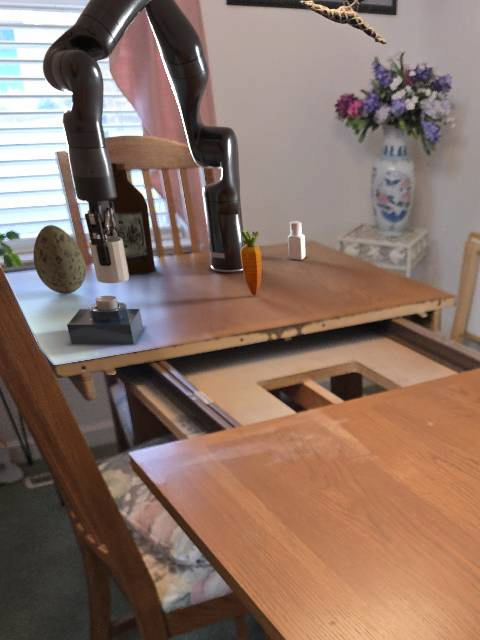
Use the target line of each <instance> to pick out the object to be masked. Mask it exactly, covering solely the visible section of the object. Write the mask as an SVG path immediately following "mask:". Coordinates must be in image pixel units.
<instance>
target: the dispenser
mask: <svg viewBox="0 0 480 640" xmlns="http://www.w3.org/2000/svg"><path fill="white" fill-rule="evenodd" d="M117 303H118V308H116V309H113V310H98V309H97V306H96V303H94V304H91V305H90V306H88V308H80V309H78V311H77V312H76V313H75V315H73V317H72V318H71V319H70V320H69V321H68V323H67V324H66V327H67V331H68V335H69V340H70V343H71V345H135V343H136V341H137V340H138V337H139V335H140V334H141V332H142V331H143V329H144V325H143V319H142V315H141V308H127V305H126V304H125V303H124V302H121V301H117Z"/></svg>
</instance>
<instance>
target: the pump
mask: <svg viewBox="0 0 480 640" xmlns="http://www.w3.org/2000/svg"><path fill="white" fill-rule="evenodd" d="M117 298H118V297H117V296H114V295H101V296H97V297H96V298H94V299H95V304H96V306H97V309H98V310H113V309H116V308H118V303H117V302H118V299H117Z"/></svg>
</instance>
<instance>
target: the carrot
mask: <svg viewBox="0 0 480 640" xmlns="http://www.w3.org/2000/svg"><path fill="white" fill-rule="evenodd" d="M241 233H242V235H243V237H244V240H242V241H243V242H244V243H245V246H243V247H242V248H241V250H240V253H241V261H242V268H243V271H242V272H243V277H244V279H245V283H246V286H247V287H248V289H249V292H250V293H251V294H252V296H254V297H256V295H257V294H258V292H259V289H260V287H261V283H262V274H263V266H262V265H263V261H262V251H261V249H260V247H259V246H258V245H255V244H256V241H257V239H258V237H259V235H260V232H259V231H255V234H254V236H253V237H252V235H251V234H250V232H249V231H246V230H245V229H243V230H242V231H241ZM251 238H252V239H251Z"/></svg>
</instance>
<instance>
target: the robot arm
mask: <svg viewBox="0 0 480 640" xmlns="http://www.w3.org/2000/svg"><path fill="white" fill-rule="evenodd" d="M177 3H178V2H176V0H89V1H88V2H87V3H86V5H85V6H84V8H83V10H82V11H81V13H80V15H79V16H78V17H77V19H76V21H75V23H74V24H73V25H72V26H71V27H69V28H68V29H67V30H66V31H64V32H63V33H62V34H61V35H60V36H59V37H58V38H57V39H56V40H55V41H54V42H53V43H52V44H51V45H50V46H49V47H48V49H47V50H46V52H45V54H44V57H43V61H42V72H43V75H44V78H45V81H46V82H47V84H48V85H49V86H50V87H51V88H52V89H53V90H54V91H56V92H58V93H61V94H66V95H71V109H67V110H66V111H64V113H63V114H62V117H61V119H62V127H63V132H64V136H65V140H66V146H67V152H68V161H69V166H70V171H71V176H72V180H73V186H74V190H75V195H76V198H77V199H78V200H79V201H83V202H87V203H88V204H87V205H88V210H87V212H86V213H84V218H85V222H86V226H87V231H88V235H89V239H90V240H91V244H92V245H95V246H97V247H96V248H97V253H98V258H99V263H100V265H101V266H110V265H111V257H110V252H109V247H108V236H117V233H118V228H117V222H116V216H115V210H114V204H113V202H109V201H110V200H114V199H115V198H116V197H117V193H116V188H115V182H114V177H113V171H112V166H111V163H112V161H111V157H110V154H109V150H108V146H107V142H106V141H107V140H106V136H105V135H106V134H105V131H104V126H103V113H104V77H103V73H102V70H101V67H100V65H99V63H98V62H101V61H103V60H107V59H108V58H109V57H110V56H111V55H112V54H113V53H114V51H115V50H116V48H117V46H118V45H119V43H120V41H121V40H122V39H123V37H124V35H125V34H126V32H127V30H128V29H129V27H130V26H131V25H132V23H133V22H134V21H135V20H136V18H137V17H138V16H139V15H140V14H141V12H142V11H143V10H144V11H145V13H146V16H147V19H148V22H149V25H150V28H151V31H152V32H153V36H154V38H155V42H156V45H157V48H158V51H159V54H160V58H161V61H162V63H163V66H164V69H165V72H166V74H167V77H168V80H169V83H170V85H171V89H172V91H173V94H174V97H175V100H176V103H177V105H178V109H179V112H180V116H181V119H182V124H183V127H184V132H185V135H186V139H187V144H188V148H189V151H190V154H191V157H192V159H193V161H194V163H195V164H196V165H197V166H198V167H200V168H201V169H208V170H209V169H213V170H221V176H220V178H219V179H218V180H216V181H214V182H211V183H208V184H205V185H203V187H202V199H203V207H204V214H205V215H204V216H205V223H206V232H207V240H208V241H207V242H208V247H209V258H210V268H211V270H212V271H213V272H216V273H222V274H235V273H241V272H243V268H242V261H241V253H240V250H241V248H242V247H243V246H246V244H245V243H244V242H243V241H242V240H245V239H244V237H243V235H242V233H241V231H242V230H244V222H243V212H242V201H241V176H240V155H239V154H240V153H239V152H240V151H239V144H238V143H239V142H238V138H237V135H236V132H235V130H234V129H233V128H231V127H229V126H221V125H219V126H218V125H205V124H204V122H203V120H202V115H201V104H202V100H203V98H204V94H205V92H206V89H207V85H208V81H209V77H210V67H209V64H208V63H209V62H208V60H207V57H206V53H205V50H204V46H203V42H202V40H201V38H200V35H199V33H198V32H197V30H196V28H195V27H194V25H193V24H192V22H191V21H190V19H189V18H188V16H186V14H185V13H184V11H183V10H182V9H181V7H180V6H179V4H177ZM255 233H256V231H251V239H252V237H253V236H254V234H255ZM98 236H100V239H98Z"/></svg>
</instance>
